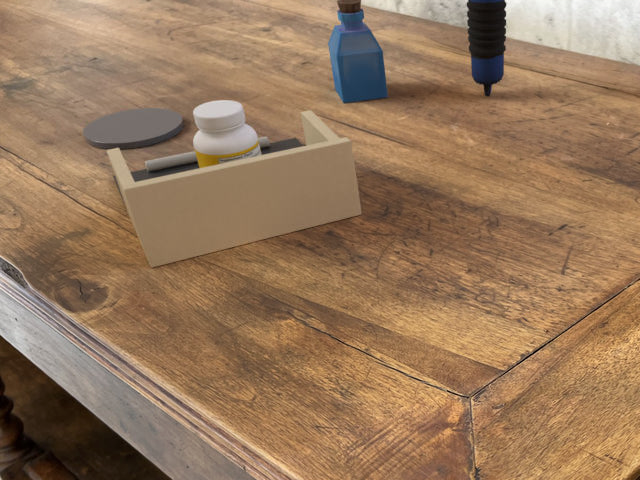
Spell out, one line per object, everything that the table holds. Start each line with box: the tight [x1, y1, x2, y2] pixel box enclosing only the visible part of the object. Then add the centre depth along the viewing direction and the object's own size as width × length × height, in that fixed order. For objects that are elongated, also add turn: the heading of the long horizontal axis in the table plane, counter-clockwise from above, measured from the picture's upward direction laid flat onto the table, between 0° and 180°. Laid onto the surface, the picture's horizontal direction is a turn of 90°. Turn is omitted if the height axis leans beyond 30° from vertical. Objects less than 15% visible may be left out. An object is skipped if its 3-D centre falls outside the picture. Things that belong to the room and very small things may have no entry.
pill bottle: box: [192, 99, 262, 168], centre depth 80 cm, size 6×6×11 cm
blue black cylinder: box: [466, 0, 507, 97], centre depth 105 cm, size 8×8×20 cm
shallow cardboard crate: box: [106, 109, 363, 269], centre depth 84 cm, size 21×22×8 cm
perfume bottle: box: [327, 0, 389, 104], centre depth 108 cm, size 6×6×12 cm
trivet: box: [82, 107, 185, 150], centre depth 102 cm, size 12×12×1 cm
